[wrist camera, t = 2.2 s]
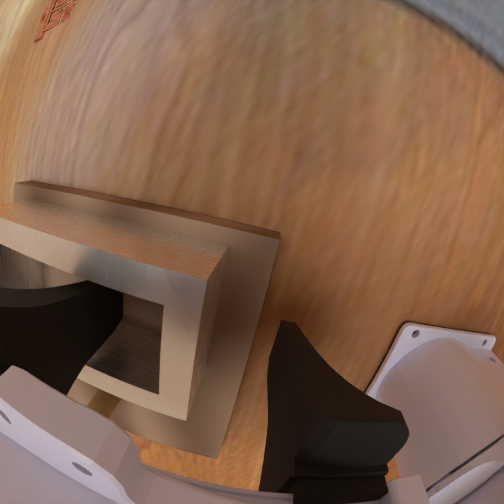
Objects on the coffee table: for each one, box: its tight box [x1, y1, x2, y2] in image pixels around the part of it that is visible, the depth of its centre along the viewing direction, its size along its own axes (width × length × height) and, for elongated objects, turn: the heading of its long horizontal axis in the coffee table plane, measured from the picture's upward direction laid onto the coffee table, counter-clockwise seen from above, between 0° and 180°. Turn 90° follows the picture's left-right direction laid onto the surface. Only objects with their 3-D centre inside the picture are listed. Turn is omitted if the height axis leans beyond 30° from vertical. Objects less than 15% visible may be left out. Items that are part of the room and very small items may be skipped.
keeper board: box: [14, 181, 280, 459], centre depth 12 cm, size 16×17×7 cm
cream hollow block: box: [0, 198, 229, 421], centre depth 11 cm, size 12×7×4 cm, turn 77°
